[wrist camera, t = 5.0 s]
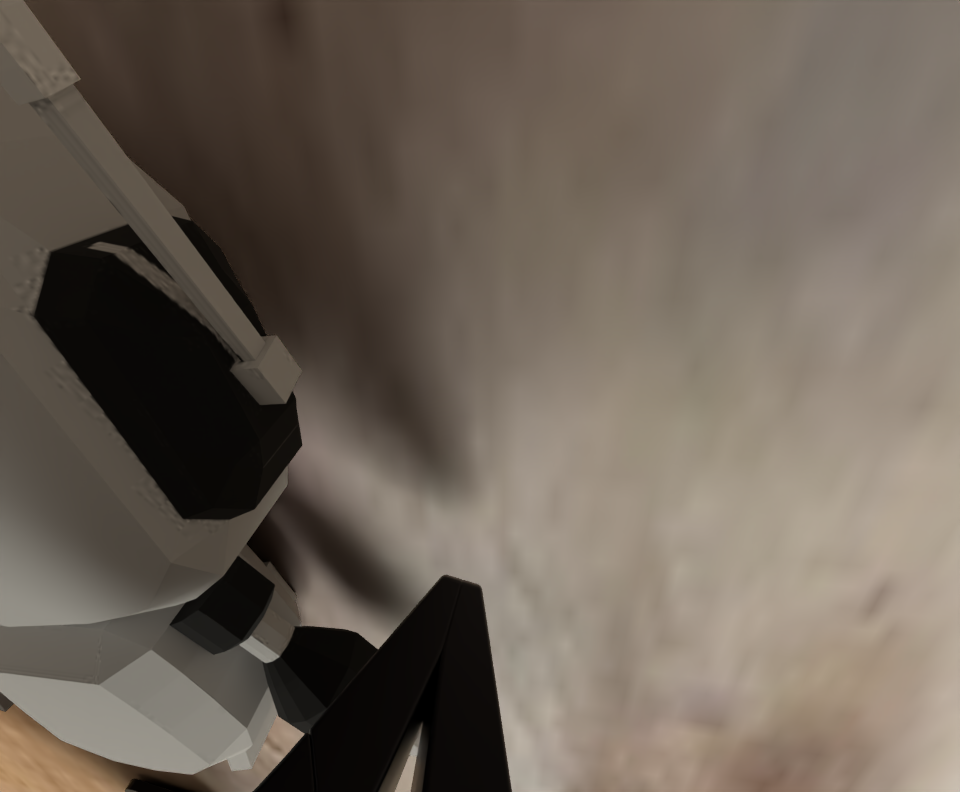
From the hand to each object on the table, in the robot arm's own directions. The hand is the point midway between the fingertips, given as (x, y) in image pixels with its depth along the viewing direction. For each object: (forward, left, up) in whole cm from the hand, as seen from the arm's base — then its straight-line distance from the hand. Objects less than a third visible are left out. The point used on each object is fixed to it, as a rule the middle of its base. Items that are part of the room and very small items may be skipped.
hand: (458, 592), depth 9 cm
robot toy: (-1, +7, -2) cm, 8 cm away
